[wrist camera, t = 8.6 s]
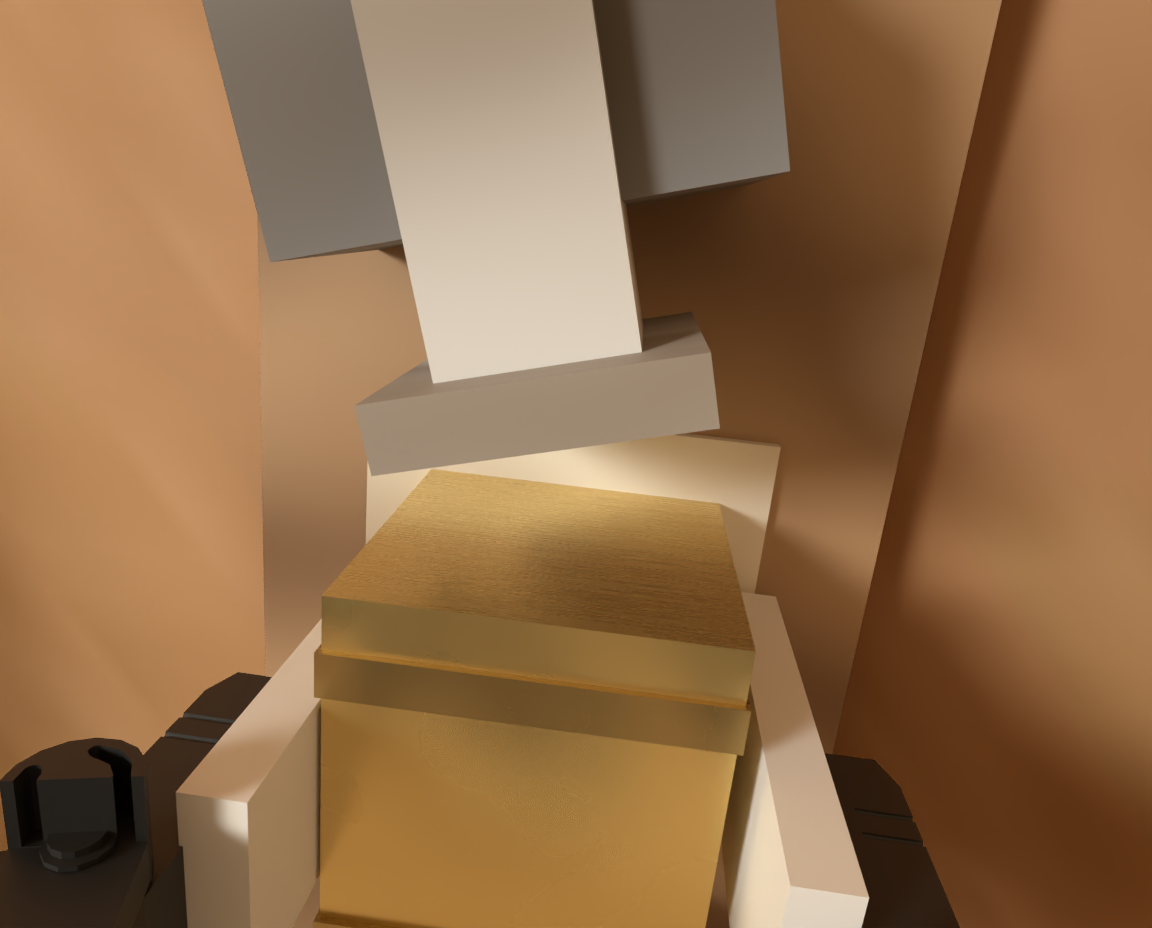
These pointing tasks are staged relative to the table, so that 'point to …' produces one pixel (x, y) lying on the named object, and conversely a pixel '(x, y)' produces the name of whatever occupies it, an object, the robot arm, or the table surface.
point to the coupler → (530, 710)
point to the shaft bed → (752, 303)
